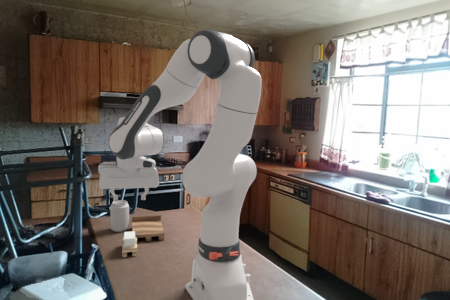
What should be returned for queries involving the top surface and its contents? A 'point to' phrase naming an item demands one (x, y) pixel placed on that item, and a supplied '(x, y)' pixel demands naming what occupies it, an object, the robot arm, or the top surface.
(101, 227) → the top surface
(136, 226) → the dock
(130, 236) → the white rectangular block
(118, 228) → the can
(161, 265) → the top surface
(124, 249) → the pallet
